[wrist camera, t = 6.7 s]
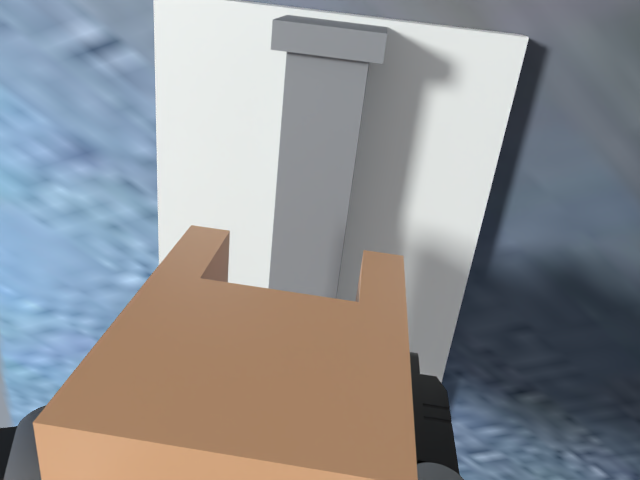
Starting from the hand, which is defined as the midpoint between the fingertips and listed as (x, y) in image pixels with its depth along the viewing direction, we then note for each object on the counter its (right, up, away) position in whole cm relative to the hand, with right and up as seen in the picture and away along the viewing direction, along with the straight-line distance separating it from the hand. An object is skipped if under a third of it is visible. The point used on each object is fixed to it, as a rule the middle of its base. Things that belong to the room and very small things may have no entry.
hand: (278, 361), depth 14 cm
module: (0, 0, +1) cm, 1 cm away
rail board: (+1, +4, +8) cm, 8 cm away
